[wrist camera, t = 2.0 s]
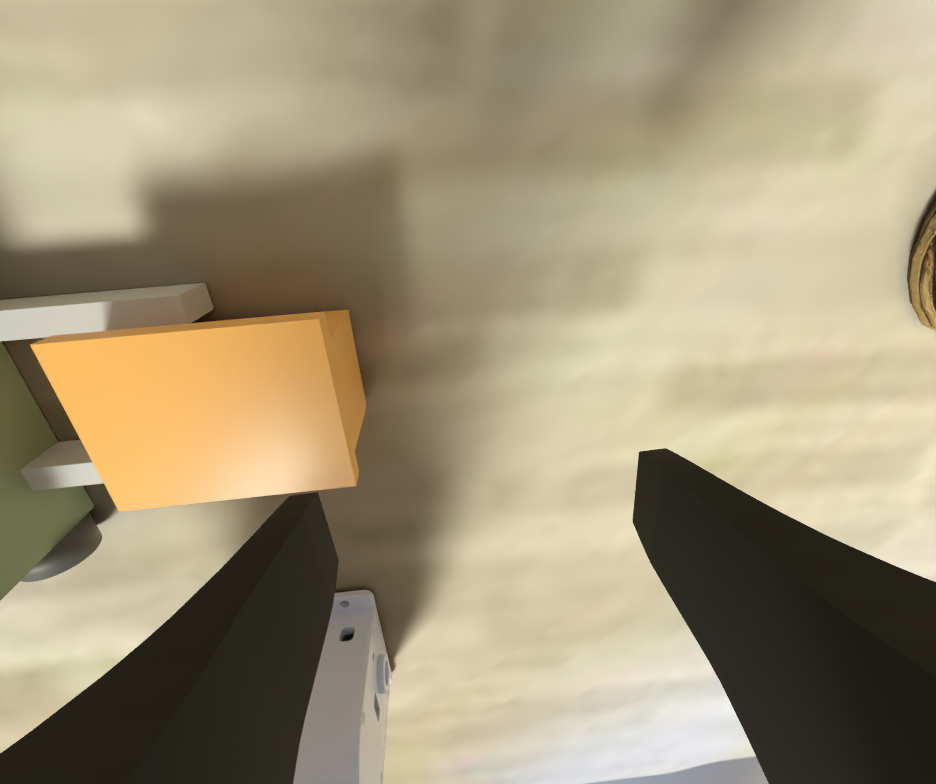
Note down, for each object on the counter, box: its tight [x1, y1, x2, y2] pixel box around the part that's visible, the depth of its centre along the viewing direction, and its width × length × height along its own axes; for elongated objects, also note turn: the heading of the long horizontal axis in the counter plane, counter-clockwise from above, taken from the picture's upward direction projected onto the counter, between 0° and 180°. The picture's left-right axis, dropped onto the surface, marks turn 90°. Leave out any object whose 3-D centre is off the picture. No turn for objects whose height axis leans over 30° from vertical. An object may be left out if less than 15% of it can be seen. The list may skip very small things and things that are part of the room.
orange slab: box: [30, 310, 367, 511], centre depth 16 cm, size 8×6×4 cm
